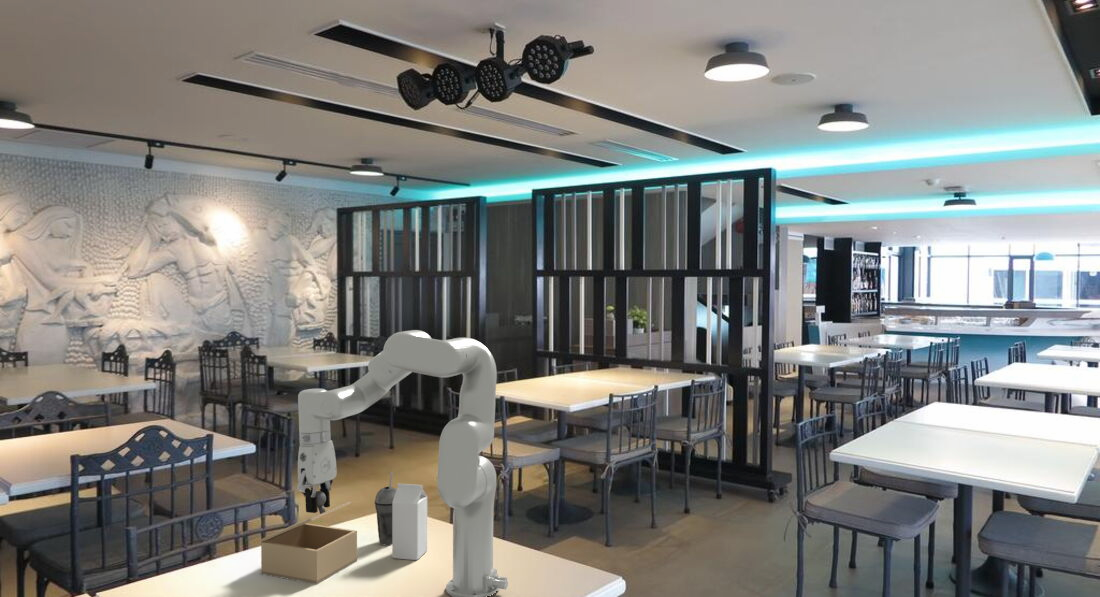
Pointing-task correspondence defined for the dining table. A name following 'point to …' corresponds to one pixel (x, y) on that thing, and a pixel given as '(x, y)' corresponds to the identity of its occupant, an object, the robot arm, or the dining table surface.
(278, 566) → the light brown open box
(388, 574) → the dining table surface
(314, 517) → the flap
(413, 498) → the milk carton
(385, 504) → the beverage cup
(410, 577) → the dining table surface
